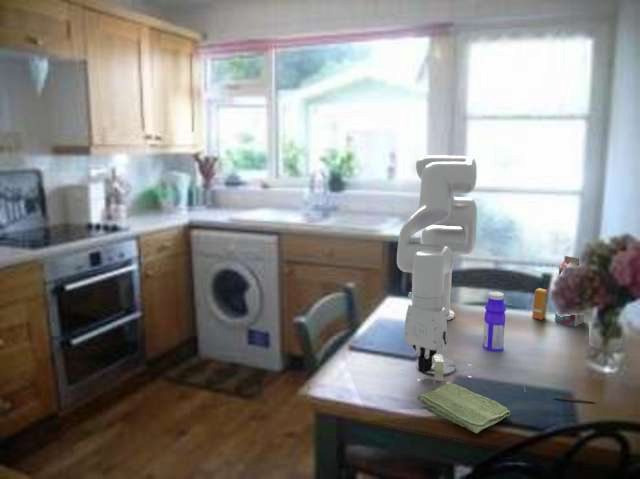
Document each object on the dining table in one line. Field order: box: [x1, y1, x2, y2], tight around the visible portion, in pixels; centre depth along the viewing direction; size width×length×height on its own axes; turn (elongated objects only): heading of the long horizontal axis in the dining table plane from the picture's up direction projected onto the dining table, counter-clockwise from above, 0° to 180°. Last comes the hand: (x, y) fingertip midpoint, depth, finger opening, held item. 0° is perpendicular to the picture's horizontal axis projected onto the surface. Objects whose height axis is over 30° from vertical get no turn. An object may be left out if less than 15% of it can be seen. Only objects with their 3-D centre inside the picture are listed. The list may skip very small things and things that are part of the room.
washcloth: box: [417, 382, 511, 434], centre depth 122 cm, size 13×18×3 cm
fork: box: [523, 386, 597, 404], centre depth 127 cm, size 3×16×2 cm, turn 75°
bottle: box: [482, 291, 507, 353], centre depth 153 cm, size 7×6×17 cm
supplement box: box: [531, 287, 549, 321], centre depth 182 cm, size 3×3×10 cm
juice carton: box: [554, 255, 585, 327], centre depth 177 cm, size 7×7×22 cm
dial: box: [416, 354, 456, 382], centre depth 139 cm, size 13×10×5 cm
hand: (424, 370), depth 135 cm, fingers closed
